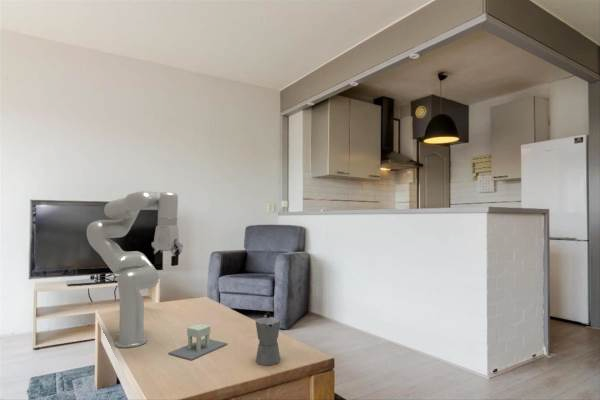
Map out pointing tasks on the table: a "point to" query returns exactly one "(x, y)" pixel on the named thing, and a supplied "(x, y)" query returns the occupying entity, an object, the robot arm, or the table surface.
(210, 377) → the table surface
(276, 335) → the coffeepot
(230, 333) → the table surface
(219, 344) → the mat
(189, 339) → the pale green stool
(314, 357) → the table surface
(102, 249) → the robot arm
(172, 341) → the table surface
